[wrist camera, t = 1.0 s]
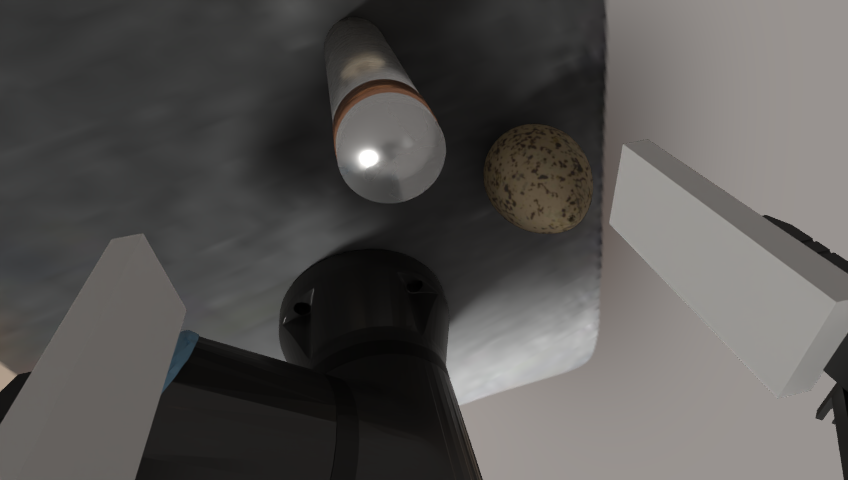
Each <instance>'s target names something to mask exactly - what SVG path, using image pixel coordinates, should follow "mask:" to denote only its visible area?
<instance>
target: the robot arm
mask: <svg viewBox="0 0 848 480" xmlns="http://www.w3.org/2000/svg"><path fill="white" fill-rule="evenodd" d="M609 224H610V225H611V226H612V227H613V228H614V229H615V230H616V231H617V232H618V233H619V234H620V235H621V236H622V237H623V239H624V240H625V241H626V242H627V243H628V244H629V245H630V246H631V247H632V248H633V249H634V250H635V251H636V252H637V253H638V254H639V255H640V256H641V257H642V258H643V259H644V260H645V261H646V262H647V263H648V265H649V266H651V268H652V269H653V270H654V271H655V272H656V273H657V274H658V275H659V276H660V277H661V278H662V279H663V280H664V281H665V282H666V283H667V284H668V285H669V286H670V287H671V288H672V289H673V290H674V291H675V293H676V294H677V295H678V296H679V297H680V298H681V299H682V300H683V301H684V302H685V303H686V304H687V305H688V306H689V307H690V308H691V309H692V310H693V311H694V312H695V313H696V314H697V315H698V316H699V318H700V319H701V320H702V321H703V322H704V323H705V324H706V325H707V326H708V327H709V328H710V329H711V330H712V331H713V332H714V333H715V334H716V335H717V336H718V337H719V338H720V339H721V340H722V341H723V343H724V344H725V345H726V346H727V347H728V348H729V349H730V350H731V351H732V352H733V353H734V354H735V355H736V356H737V357H738V358H739V359H740V360H741V361H742V362H743V363H744V364H745V365H746V366H747V367H748V368H749V370H750V371H751V372H752V373H753V374H754V375H755V376H756V377H757V378H758V379H759V380H760V381H761V382H762V383H763V384H764V385H765V386H766V387H767V388H768V389H769V390H770V391H771V392H772V393H773V394H774V395H775V397H776V398H777V399H779V398H783V397H787V396H791V395H794V394H798V393H802V392H806V391H810V390H811V389H812V388H813V386H814V385H815V383H816V382H817V380H818V379H819V377H820V376H821V374H822V373H823V371H825V372H826V373H827V374H828V375H829V376H830V377H831V378H833V379H834V380H835V381H836V382H837V383H836V384H835V386H834V387H833V389H832V390H831V391H830V393H829V394H828V396H827V397H826V399H825V400H824V401H823V403H822V404H821V405H820V407H819V408H818V410H817V413H816V418H817V419H820V420H823V419H824V417H825V416H826V415H827V413H828V412H829V411H830V409H832V408H833V411H834V417H835V419H834V420H833V422H832V423H833V424H836V431H837V437H838V444H839V450H840V457H841V463H842V470H843V476H844V480H848V261H846V260H845V259H843V258H842V257H840V256H839V255H837V254H836V253H831V252H830V249H828V248H826V247H825V246H823V245H822V244H820V243H819V242H817V241H816V242H814V241H813V239H812V238H811V237H810V236H808V235H806V234H805V233H803V232H802V231H800V230H799V229H797V228H796V227H794V226H793V225H790V224H788V223H785V222H783V221H780V220H778V219H775V218H773V217H770V216H767V215H764V216H761V215H760V214H758V213H756V212H755V211H753V210H752V209H751V208H749V207H747V206H746V205H745V204H743V203H742V202H740V201H739V200H737V199H736V198H734V197H733V196H731V195H730V194H728V193H727V192H725V191H724V190H722V189H721V188H719V187H718V186H716V185H715V184H713V183H712V182H711V181H709V180H708V179H706V178H705V177H703V176H702V175H700V174H698V173H697V172H696V171H694V170H693V169H691V168H690V167H688V166H687V165H685V164H684V163H682V162H681V161H679V160H678V159H676V158H675V157H673V156H672V155H670V154H669V153H667V152H666V151H664V150H663V149H661V148H660V147H658V146H657V145H656V144H654V143H653V142H651V141H649V140H648V139H647V140H642V141H637V142H631V143H626V144H623V147H622V152H621V159H620V164H619V171H618V175H617V181H616V187H615V192H614V198H613V204H612V209H611V215H610V221H609ZM186 311H187V310H186V308H185V306H184V305H183V303H182V301H181V299H180V297H179V296H178V294H177V292H176V290H175V289H174V287H173V285H172V283H171V282H170V280H169V278H168V276H167V275H166V273H165V271H164V269H163V268H162V266H161V264H160V262H159V261H158V259H157V257H156V255H155V254H154V252H153V250H152V248H151V247H150V245H149V243H148V241H147V239H146V238H145V236H144V234H143V233H142V234H137V235H132V236H126V237H121V238H116V239H111V241H110V243H109V244H108V246H107V248H106V249H105V251H104V253H103V254H102V256H101V258H100V259H99V261H98V263H97V264H96V266H95V268H94V269H93V271H92V273H91V274H90V276H89V278H88V279H87V281H86V283H85V284H84V286H83V288H82V289H81V291H80V293H79V294H78V296H77V298H76V299H75V301H74V302H73V304H72V306H71V307H70V309H69V311H68V312H67V314H66V316H65V317H64V319H63V321H62V322H61V324H60V326H59V327H58V329H57V331H56V332H55V334H54V336H53V337H52V339H51V341H50V342H49V344H48V346H47V347H46V349H45V351H44V352H43V354H42V356H41V357H40V359H39V361H38V362H37V364H36V366H35V367H34V369H33V371H32V372H28V373H23V374H18V375H17V376H16V377H15V378H14V379H13V380H12V381H11V382H10V383H9V384H8V385H7V386H6V387H5V388H4V389H3V390H2V391H1V392H0V480H483V479H482V476H481V473H480V470H479V467H478V464H477V460H476V457H475V454H474V452H473V448H472V446H471V442H470V439H469V436H468V433H467V430H466V427H465V424H464V421H463V418H462V414H461V411H460V409H459V405H458V402H457V399H456V396H455V393H454V390H453V387H452V384H451V381H450V378H449V375H448V371H447V368H446V356H447V344H448V331H449V310H448V305H447V302H446V299H445V296H444V293H443V290H442V288H441V285H440V283H439V281H438V280H437V278H436V277H435V275H434V274H433V273H432V272H431V271H430V270H429V269H428V268H427V267H426V266H424V265H423V264H422V263H420V262H419V261H417V260H415V259H413V258H411V257H409V256H406V255H403V254H400V253H396V252H392V251H386V250H358V251H351V252H347V253H343V254H339V255H336V256H333V257H330V258H328V259H326V260H323V261H321V262H319V263H318V264H316V265H314V266H313V267H311V268H310V269H308V270H307V271H306V272H304V273H303V274H302V275H301V276H300V277H299V278H298V279H297V280H296V281H295V282H294V283H293V284H292V285H291V287H290V288H289V290H288V291H287V293H286V295H285V297H284V299H283V302H282V305H281V309H280V320H279V340H280V345H281V349H282V351H283V354H284V356H285V359H286V361H287V362H285V361H281V360H278V359H274V358H271V357H268V356H264V355H261V354H257V353H254V352H251V351H247V350H244V349H240V348H237V347H233V346H230V345H227V344H223V343H220V342H216V341H213V340H209V339H206V338H203V337H199V334H197V333H194V332H192V331H190V330H186V331H182V332H180V330H181V327H182V324H183V321H184V317H185V314H186Z"/></svg>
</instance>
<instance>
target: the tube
mask: <svg viewBox="0 0 848 480" xmlns="http://www.w3.org/2000/svg"><path fill="white" fill-rule="evenodd" d="M324 55H325V63H326V72H327V80H328V88H329V96H330V104H331V113H332V121H333V140H334V148H335V154H336V158H337V161H338V167H339V170H340V173H341V175H342V177H343V179H344V180H345V182H346V183H347V185H348V186H349V187H350V188H351V189H352V190H353V191H354V192H356V193H357V194H358V195H360V196H362V197H364V198H365V199H368V200H371V201H374V202H378V203H399V202H404V201H407V200H410V199H412V198H414V197H416V196H418V195H420V194H421V193H423V192H424V191H426V190H427V189H428V188H429V187H430V186H431V185H432V184H433V183H434V182H435V180H436V179H437V177H438V176H439V174H440V172H441V170H442V168H443V165H444V162H445V156H446V144H445V138H444V135H443V132H442V130H441V128H440V126H439V124H438V122H437V119H436V117H435V116H434V114H433V112H432V111H431V109H430V108H429V106H428V104H427V103H426V101H425V100H424V98H423V97H422V96H421V95H420V94H419V92H418V91H417V89H416V88H415V86H414V84H413V83H412V81H411V80H410V78H409V76H408V75H407V73H406V72H405V70H404V68H403V67H402V65H401V64H400V62H399V60H398V59H397V57H396V56H395V54H394V52H393V51H392V49H391V48H390V46H389V44H388V43H387V41H386V40H385V38H384V36H383V35H382V33H381V32H380V30H379V29H378V28H377V27H376V26H375V25H374V24H373V23H371V22H370V21H368V20H366V19H363V18H358V17H350V18H345V19H343V20H341V21H339V22H337V23H336V24H335V25H334V26H333V27H332V28H331V29H330V30H329V32H328V34H327V36H326V39H325V42H324Z"/></svg>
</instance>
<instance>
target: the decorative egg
mask: <svg viewBox="0 0 848 480" xmlns="http://www.w3.org/2000/svg"><path fill="white" fill-rule="evenodd" d="M483 176H484V186H485V190H486V193H487V195H488V197H489V200H490V202H491V203H492V205H493V206H494V207H495V209H496V210H497V211H498V212H499V214H501V215H502V216H503V217H504V218H505V219H506V220H508V221H509V222H510V223H512V224H514V225H515V226H517V227H519V228H521V229H524V230H527V231H530V232H535V233H542V234H554V233H561V232H564V231H567V230H569V229H572V228H573V227H575V226H576V225H578V224H579V223H580V222H581V221H582V219H583V218H584V217H585V215H586V213H587V211H588V209H589V206H590V204H591V200H592V193H593V178H592V172H591V168H590V165H589V162H588V160H587V158H586V156H585V154H584V152H583V151H582V149H581V148H580V146H579V145H578V144H577V143H576V142H575V141H574V140H573V139H572V138H571V137H570V136H569V135H567V134H566V133H564V132H563V131H561V130H559V129H557V128H554V127H551V126H548V125H543V124H526V125H521V126H518V127H515V128H512V129H510V130H509V131H507V132H505V133H504V134H503V135H502V136H501V137H499V138H498V139H497V140H496V142H495V143H494V144H493V145H492V147H491V149H490V151H489V152H488V155H487V157H486V160H485V164H484V173H483Z"/></svg>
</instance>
